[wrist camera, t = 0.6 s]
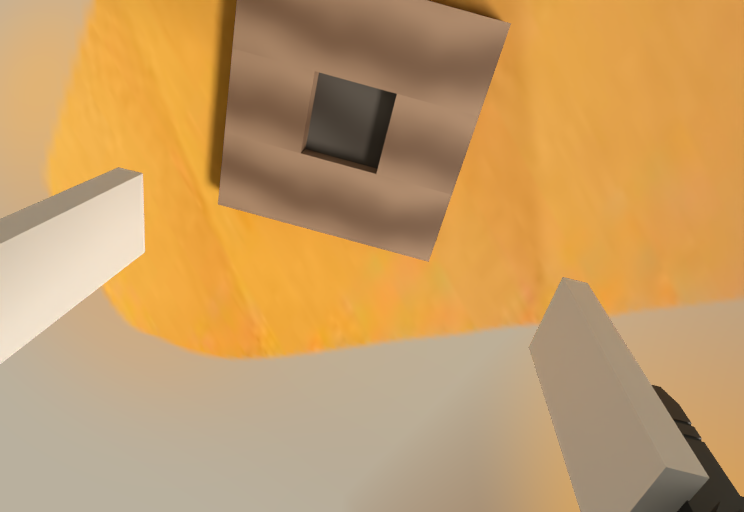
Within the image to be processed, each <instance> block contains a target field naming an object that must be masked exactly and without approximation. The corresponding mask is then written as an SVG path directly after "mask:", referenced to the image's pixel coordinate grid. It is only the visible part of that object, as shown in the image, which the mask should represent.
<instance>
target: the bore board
mask: <svg viewBox="0 0 744 512" xmlns="http://www.w3.org/2000/svg"><path fill="white" fill-rule="evenodd" d="M510 25H511V23H507V22H504V21H500V20H496V19H493V18H489V17H486V16H482V15H478V14H475V13H471V12H468V11H464V10H460V9H457V8H453V7H450V6H446V5H442V4H439V3H435V2H432V1H428V0H237V5H236V15H235V26H234V37H233V48H232V59H231V70H230V80H229V91H228V102H227V113H226V124H225V135H224V145H223V156H222V167H221V178H220V189H219V200H218V204H219V205H223V206H226V207H230V208H234V209H237V210H241V211H245V212H248V213H252V214H256V215H259V216H263V217H267V218H270V219H274V220H278V221H281V222H285V223H289V224H292V225H296V226H300V227H303V228H307V229H311V230H314V231H318V232H322V233H325V234H329V235H333V236H336V237H340V238H344V239H347V240H351V241H355V242H358V243H362V244H366V245H369V246H373V247H377V248H380V249H384V250H388V251H391V252H395V253H399V254H402V255H406V256H410V257H413V258H417V259H421V260H424V261H428V262H429V259H430V256H431V253H432V250H433V247H434V245H435V242H436V239H437V236H438V233H439V230H440V227H441V224H442V221H443V218H444V216H445V213H446V210H447V207H448V204H449V201H450V198H451V195H452V192H453V190H454V187H455V184H456V181H457V178H458V175H459V172H460V169H461V166H462V164H463V161H464V158H465V155H466V152H467V149H468V146H469V143H470V140H471V137H472V135H473V132H474V129H475V126H476V123H477V120H478V117H479V114H480V111H481V109H482V106H483V103H484V100H485V97H486V94H487V91H488V88H489V85H490V82H491V80H492V77H493V74H494V71H495V68H496V65H497V62H498V59H499V56H500V54H501V51H502V48H503V45H504V42H505V39H506V36H507V33H508V30H509V28H510Z"/></svg>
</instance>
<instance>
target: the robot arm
mask: <svg viewBox="0 0 744 512" xmlns="http://www.w3.org/2000/svg"><path fill="white" fill-rule="evenodd" d="M144 252H145V235H144V199H143V173H139V172H135V171H131V170H127V169H123V168H119V167H118V168H116V169H114V170H111V171H109V172H107V173H104V174H102V175H100V176H98V177H95V178H93V179H91V180H88V181H86V182H84V183H82V184H79V185H77V186H75V187H72V188H70V189H68V190H66V191H63V192H61V193H59V194H56V195H54V196H52V197H49V198H47V199H45V200H43V201H41V202H38V203H36V204H33V205H31V206H29V207H27V208H24V209H22V210H20V211H18V212H15V213H13V214H11V215H8V216H6V217H4V218H1V219H0V364H1V363H2V362H3V361H5V360H6V359H7V358H9V357H10V356H11V355H12V354H14V353H15V352H16V351H18V350H19V349H20V348H21V347H23V346H24V345H25V344H27V343H28V342H29V341H31V340H32V339H33V338H34V337H36V336H37V335H38V334H40V333H41V332H42V331H44V330H45V329H46V328H47V327H49V326H50V325H51V324H52V323H54V322H55V321H56V320H58V319H59V318H60V317H62V316H63V315H64V314H65V313H67V312H68V311H69V310H71V309H72V308H73V307H75V306H76V305H77V304H78V303H80V302H81V301H82V300H83V299H85V298H86V297H87V296H89V295H90V294H91V293H92V292H94V291H95V290H96V289H98V288H99V287H100V286H102V285H103V284H104V283H106V282H107V281H108V280H109V279H111V278H112V277H113V276H115V275H116V274H117V273H118V272H120V271H121V270H122V269H124V268H125V267H126V266H128V265H129V264H130V263H131V262H133V261H134V260H135V259H137V258H138V257H139V256H140V255H142V254H143V253H144ZM529 349H530V352H531V355H532V359H533V362H534V365H535V368H536V371H537V375H538V378H539V381H540V384H541V387H542V390H543V394H544V397H545V400H546V403H547V406H548V410H549V412H550V416H551V419H552V422H553V425H554V428H555V432H556V435H557V438H558V441H559V445H560V447H561V451H562V454H563V457H564V460H565V464H566V466H567V470H568V473H569V476H570V480H571V483H572V486H573V489H574V492H575V495H576V499H577V502H578V505H579V508H580V511H581V512H744V497H742V496H740V495H739V493H738V492H737V490H736V489H735V488H734V486H733V485H732V483H731V482H730V480H729V479H728V477H727V476H726V474H725V473H724V471H723V470H722V468H721V467H720V465H719V464H718V462H717V461H716V459H715V458H714V456H713V455H712V453H711V452H710V450H709V449H708V448H707V446H706V444H705V443H704V442H701V437H700V436H699V434H698V432H697V431H696V429H695V428H694V427H693V426H691V422H690V420H689V419H688V418H687V416H686V414H685V413H684V411H683V410H682V408H681V407H680V405H679V404H678V403H677V402H676V401H675V400H674V399H672V397H670V396H669V395H668V394H667V393H666V392H665V391H664V390H663V389H662V388H661V387H658V386H654V385H651V384H650V382H649V381H648V379H647V377H646V376H645V374H644V373H643V371H642V369H641V368H640V366H639V365H638V363H637V362H636V360H635V358H634V357H633V355H632V353H631V352H630V350H629V349H628V347H627V345H626V344H625V342H624V341H623V339H622V338H621V336H620V334H619V333H618V331H617V330H616V328H615V327H614V325H613V323H612V322H611V320H610V318H609V317H608V315H607V314H606V312H605V310H604V309H603V307H602V306H601V304H600V302H599V301H598V299H597V298H596V296H595V294H594V293H593V291H592V290H591V288H590V286H589V285H588V283H585V282H581V281H577V280H573V279H568V278H564V277H563V278H562V280H561V282H560V284H559V286H558V288H557V290H556V292H555V294H554V296H553V298H552V300H551V302H550V305H549V307H548V309H547V311H546V313H545V315H544V317H543V319H542V321H541V323H540V325H539V327H538V329H537V331H536V333H535V335H534V338H533V340H532V342H531V344H530V346H529Z"/></svg>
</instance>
